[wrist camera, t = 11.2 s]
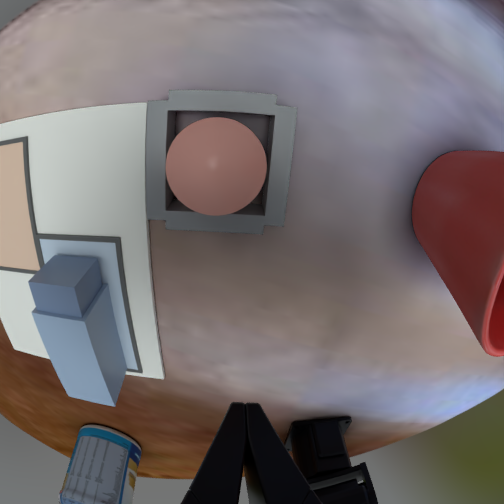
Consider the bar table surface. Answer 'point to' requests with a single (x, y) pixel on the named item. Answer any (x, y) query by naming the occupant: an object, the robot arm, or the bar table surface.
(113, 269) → the white sorting board
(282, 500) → the robot arm
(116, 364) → the blue paint stick
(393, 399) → the bar table surface
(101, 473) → the beverage bottle
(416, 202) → the flower pot
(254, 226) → the button housing
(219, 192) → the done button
